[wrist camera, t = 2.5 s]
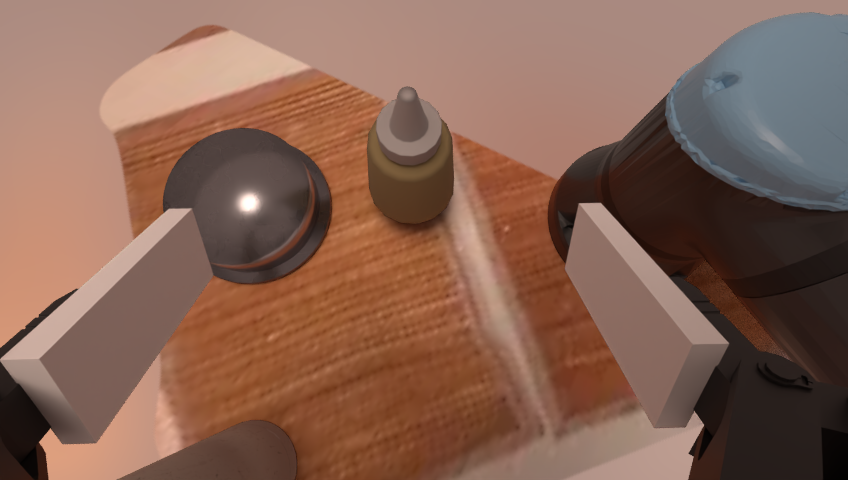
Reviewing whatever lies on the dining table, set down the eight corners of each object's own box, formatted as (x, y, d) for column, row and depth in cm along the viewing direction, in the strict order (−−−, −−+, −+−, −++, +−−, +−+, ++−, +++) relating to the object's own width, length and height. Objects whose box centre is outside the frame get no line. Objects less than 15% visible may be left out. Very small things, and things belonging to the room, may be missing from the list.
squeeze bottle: (405, 145, 44) (396, 16, 26) (466, 189, 43) (500, 84, 25) (357, 203, 42) (313, 105, 25) (419, 249, 41) (420, 182, 24)
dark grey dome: (358, 183, 43) (351, 163, 38) (278, 311, 39) (258, 307, 35) (239, 120, 44) (217, 93, 39) (152, 238, 41) (116, 224, 36)
